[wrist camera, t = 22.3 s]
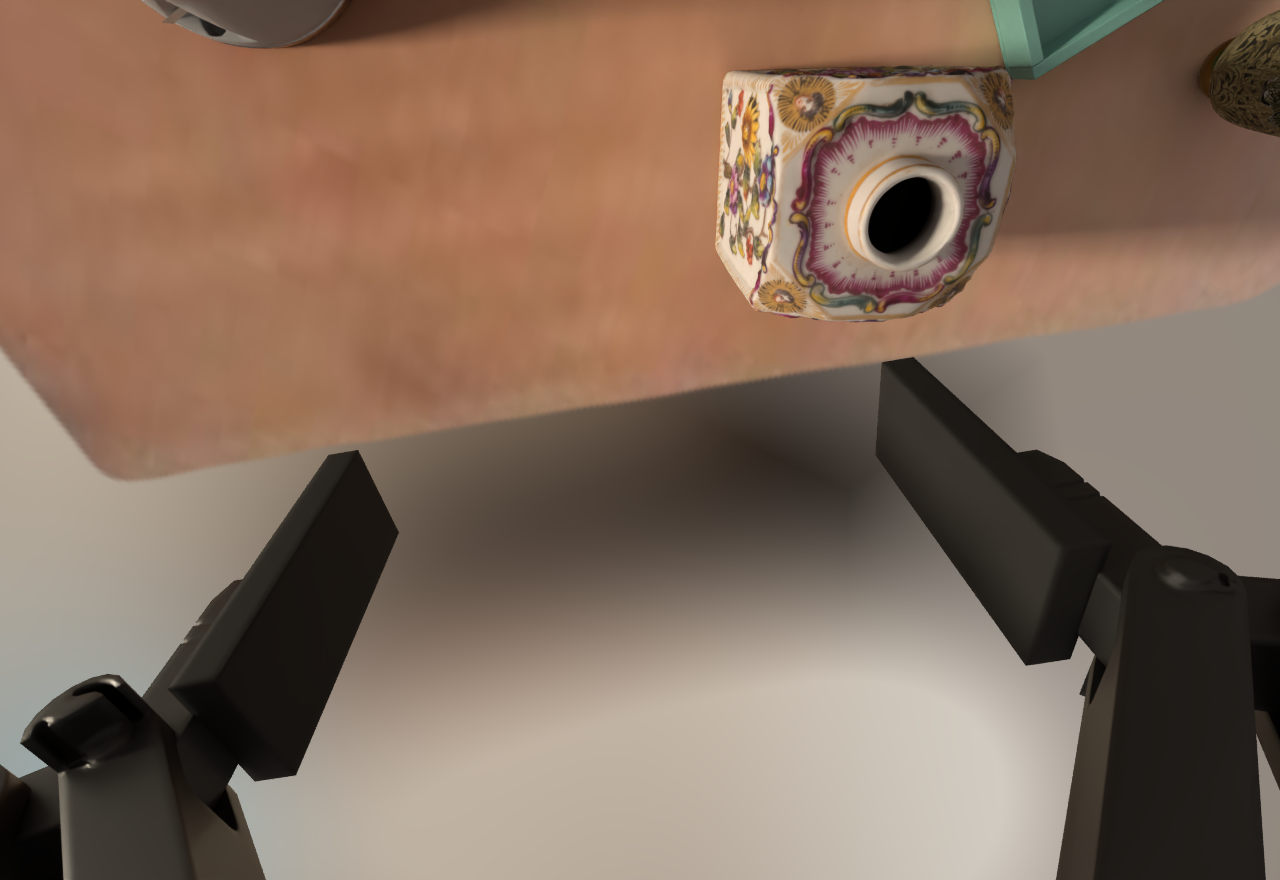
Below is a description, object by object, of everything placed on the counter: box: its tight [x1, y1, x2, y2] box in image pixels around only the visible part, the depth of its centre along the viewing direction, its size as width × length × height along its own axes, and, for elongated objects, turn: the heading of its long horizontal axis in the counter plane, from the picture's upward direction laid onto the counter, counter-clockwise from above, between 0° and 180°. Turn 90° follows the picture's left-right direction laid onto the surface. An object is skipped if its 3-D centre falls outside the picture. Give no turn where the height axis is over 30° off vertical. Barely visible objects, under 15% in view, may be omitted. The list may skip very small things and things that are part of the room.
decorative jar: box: [716, 65, 1016, 322], centre depth 34 cm, size 12×12×18 cm
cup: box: [1198, 10, 1280, 137], centre depth 37 cm, size 8×7×8 cm
